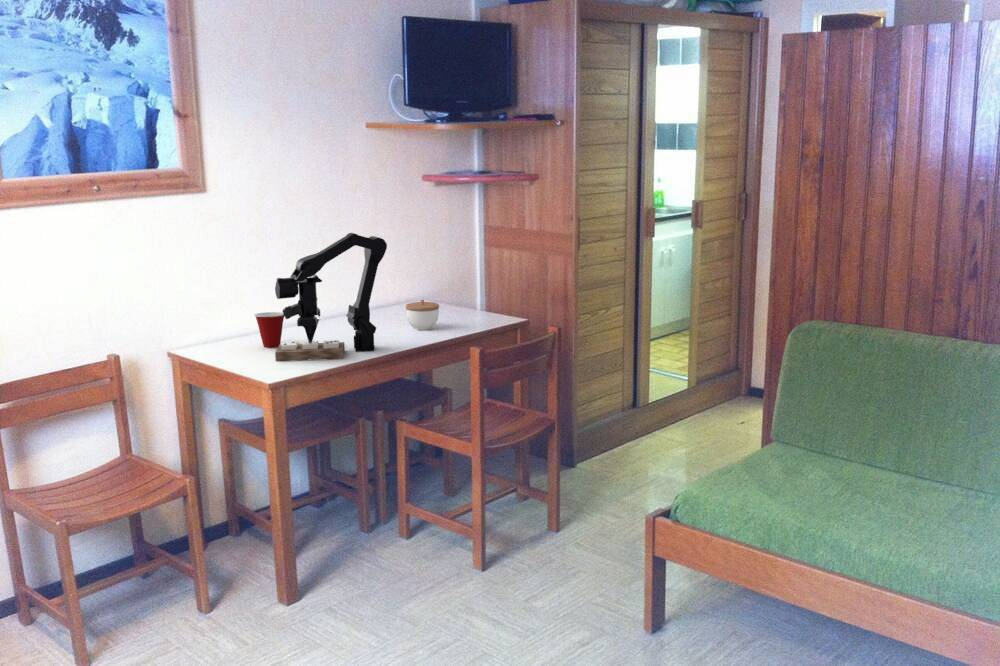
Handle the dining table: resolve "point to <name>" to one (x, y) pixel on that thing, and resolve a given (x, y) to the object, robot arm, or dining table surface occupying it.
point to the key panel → (310, 353)
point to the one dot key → (310, 345)
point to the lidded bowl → (422, 314)
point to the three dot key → (331, 344)
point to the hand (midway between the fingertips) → (310, 341)
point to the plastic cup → (270, 328)
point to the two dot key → (289, 346)
